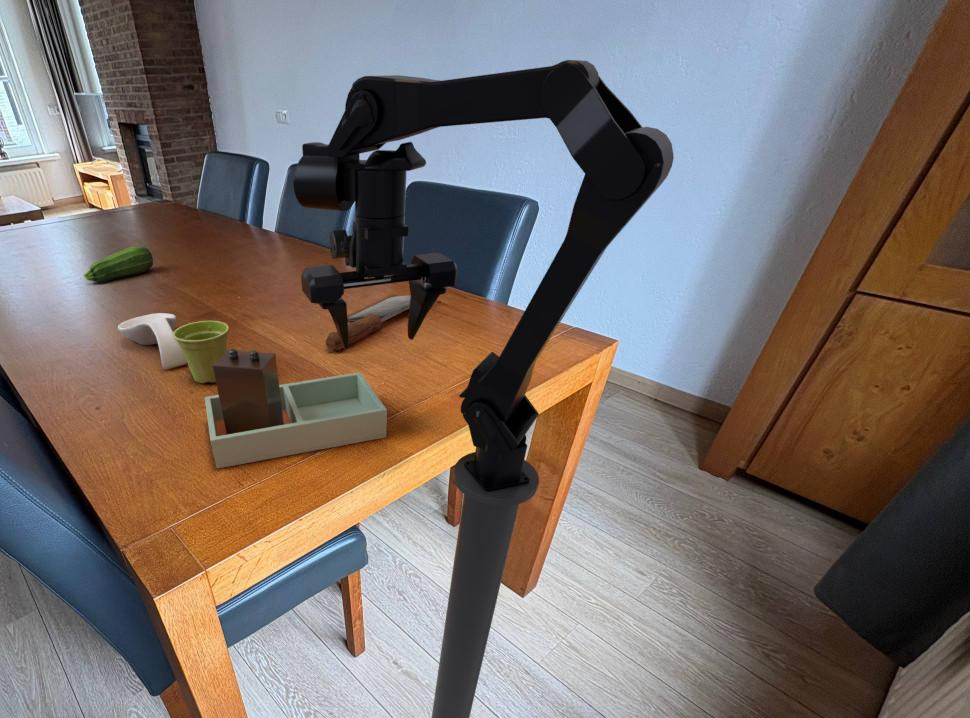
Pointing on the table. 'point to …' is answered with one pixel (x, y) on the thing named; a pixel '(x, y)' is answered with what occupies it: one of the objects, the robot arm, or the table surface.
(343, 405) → the divided tray
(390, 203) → the robot arm
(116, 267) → the vegetable
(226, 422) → the knife block
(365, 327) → the meat cleaver
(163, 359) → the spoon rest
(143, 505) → the table surface
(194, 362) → the plant pot
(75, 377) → the table surface
